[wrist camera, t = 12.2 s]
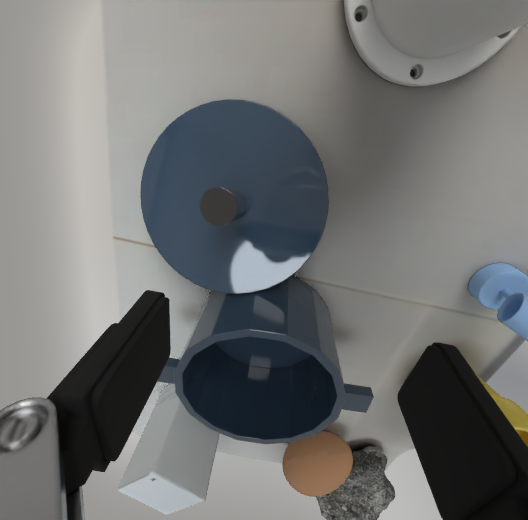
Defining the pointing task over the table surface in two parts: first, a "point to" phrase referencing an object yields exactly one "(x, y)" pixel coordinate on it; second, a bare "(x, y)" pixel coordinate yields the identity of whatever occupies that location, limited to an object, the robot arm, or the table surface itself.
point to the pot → (264, 366)
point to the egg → (317, 463)
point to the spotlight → (503, 294)
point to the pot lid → (234, 196)
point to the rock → (360, 489)
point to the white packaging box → (171, 458)
